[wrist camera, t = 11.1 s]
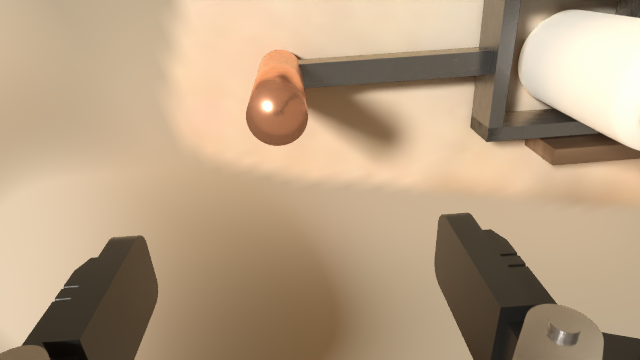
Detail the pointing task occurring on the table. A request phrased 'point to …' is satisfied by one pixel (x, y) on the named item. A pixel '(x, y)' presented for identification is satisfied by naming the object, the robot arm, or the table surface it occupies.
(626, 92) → the can
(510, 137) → the pull frame
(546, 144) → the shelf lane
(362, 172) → the table surface
